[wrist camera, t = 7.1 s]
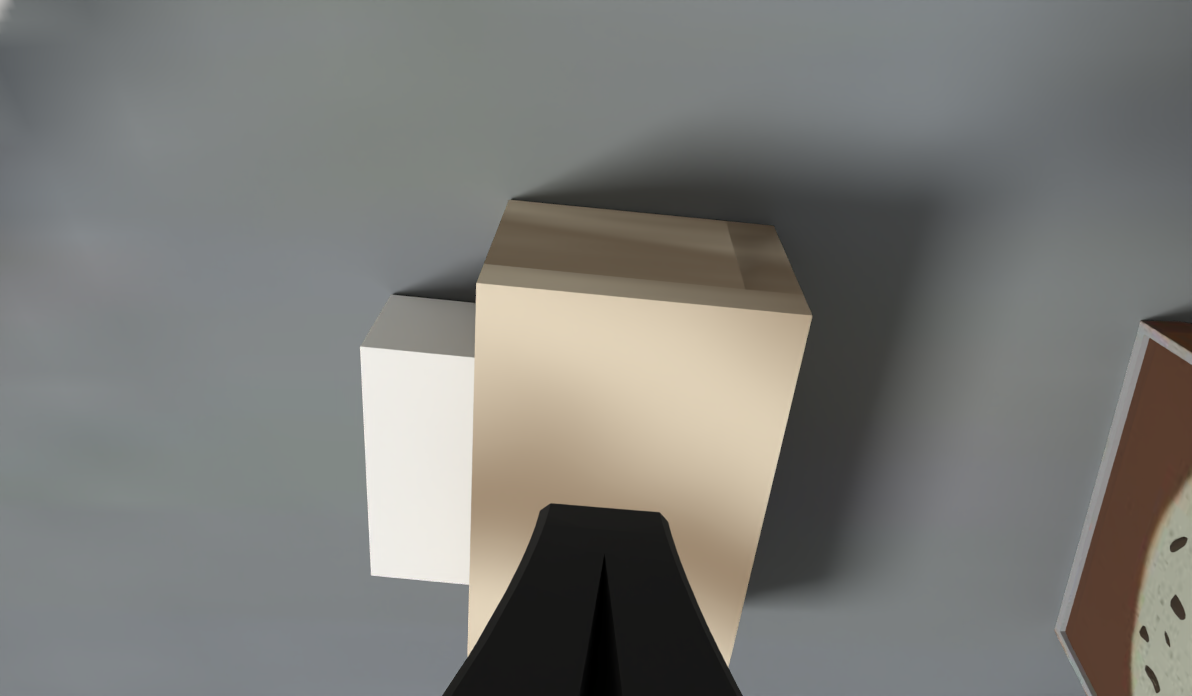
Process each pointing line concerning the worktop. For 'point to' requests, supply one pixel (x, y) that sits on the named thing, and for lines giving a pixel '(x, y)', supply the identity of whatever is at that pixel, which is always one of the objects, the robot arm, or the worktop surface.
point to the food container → (1139, 534)
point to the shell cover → (419, 437)
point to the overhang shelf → (631, 388)
